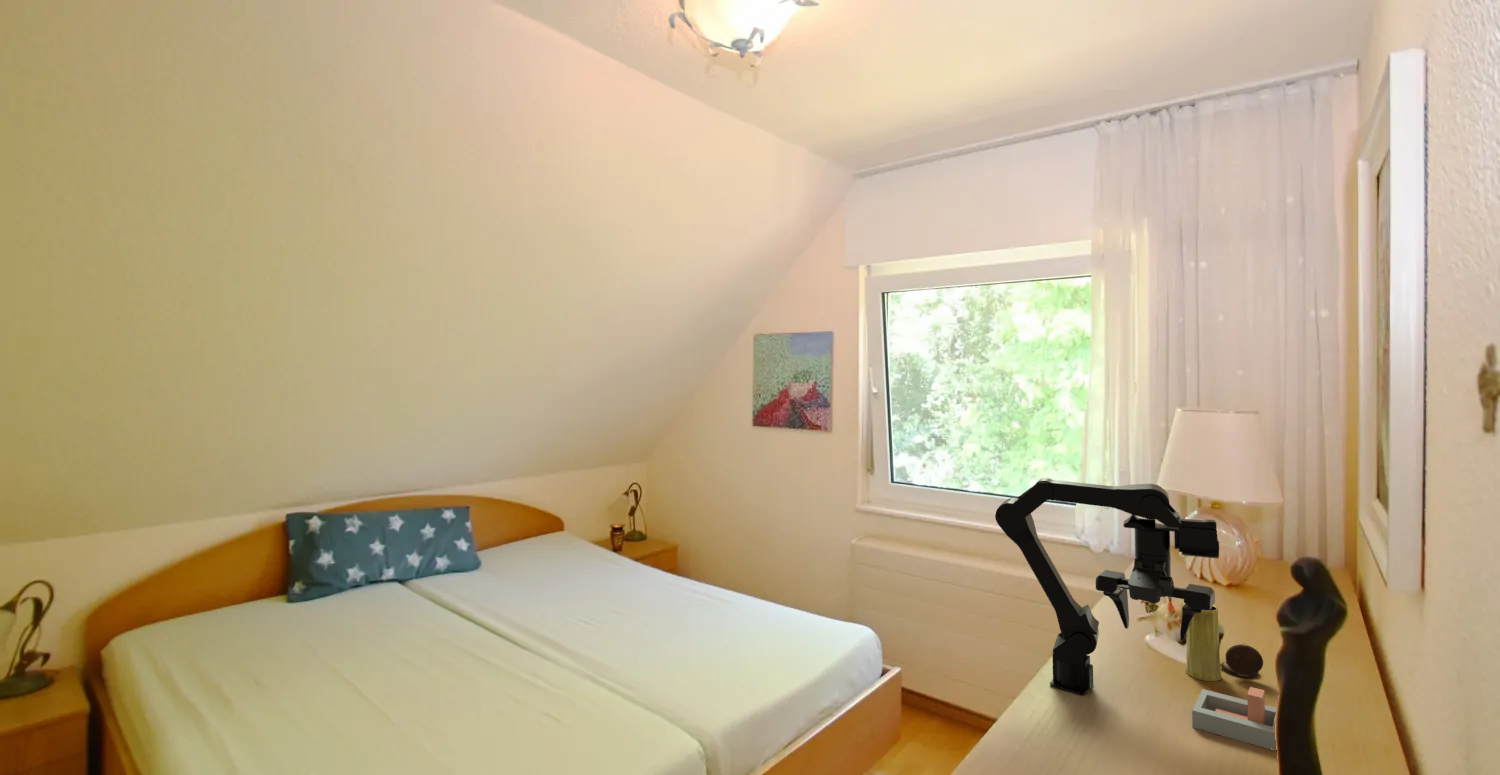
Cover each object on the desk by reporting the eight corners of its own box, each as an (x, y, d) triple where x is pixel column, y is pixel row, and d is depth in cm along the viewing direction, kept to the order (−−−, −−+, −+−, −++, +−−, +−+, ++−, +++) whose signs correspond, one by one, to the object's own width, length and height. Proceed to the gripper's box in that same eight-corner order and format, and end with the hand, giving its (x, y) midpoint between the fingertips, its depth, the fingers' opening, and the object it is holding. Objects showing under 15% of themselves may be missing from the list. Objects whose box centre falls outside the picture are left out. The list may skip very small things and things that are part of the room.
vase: (1227, 682, 133) (1226, 612, 132) (1193, 681, 134) (1192, 610, 134) (1212, 669, 139) (1211, 601, 138) (1180, 667, 140) (1179, 600, 140)
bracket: (1265, 730, 116) (1264, 690, 116) (1262, 738, 113) (1262, 697, 113) (1216, 716, 121) (1215, 678, 120) (1213, 724, 118) (1212, 685, 118)
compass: (1253, 667, 139) (1253, 632, 139) (1264, 684, 132) (1263, 648, 132) (1207, 661, 143) (1207, 627, 142) (1215, 677, 135) (1215, 642, 135)
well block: (1192, 727, 118) (1192, 710, 117) (1202, 704, 125) (1202, 688, 125) (1279, 751, 109) (1278, 733, 109) (1284, 726, 117) (1284, 709, 117)
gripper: (1086, 553, 126) (1087, 635, 127) (1203, 571, 114) (1205, 661, 114) (1103, 541, 134) (1104, 617, 135) (1214, 556, 122) (1216, 641, 122)
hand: (1153, 633), depth 126 cm, fingers open, 9 cm apart
